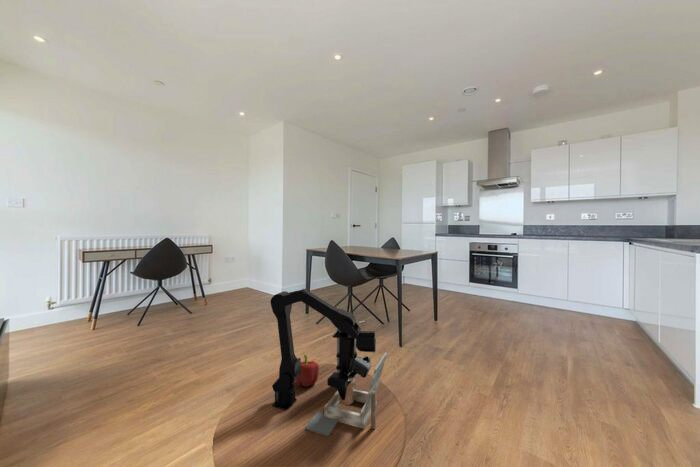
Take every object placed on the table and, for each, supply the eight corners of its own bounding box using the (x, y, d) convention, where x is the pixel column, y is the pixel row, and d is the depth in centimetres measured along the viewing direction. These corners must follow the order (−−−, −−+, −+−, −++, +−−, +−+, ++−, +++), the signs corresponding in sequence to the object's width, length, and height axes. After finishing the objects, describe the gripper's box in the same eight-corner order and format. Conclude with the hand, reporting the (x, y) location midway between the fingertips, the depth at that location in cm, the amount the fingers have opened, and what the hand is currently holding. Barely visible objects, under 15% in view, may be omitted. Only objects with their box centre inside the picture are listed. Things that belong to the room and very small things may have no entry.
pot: (335, 403, 91) (335, 381, 91) (342, 394, 96) (342, 374, 96) (351, 406, 88) (351, 385, 89) (357, 397, 94) (357, 377, 94)
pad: (305, 429, 82) (305, 427, 82) (317, 414, 89) (317, 412, 89) (328, 436, 79) (328, 434, 79) (339, 419, 86) (339, 417, 86)
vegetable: (292, 378, 113) (292, 355, 114) (316, 375, 116) (316, 352, 117) (294, 392, 103) (295, 366, 103) (321, 388, 106) (321, 362, 106)
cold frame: (324, 417, 87) (324, 360, 88) (340, 395, 100) (341, 345, 101) (376, 432, 81) (376, 369, 82) (387, 406, 94) (387, 352, 95)
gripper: (359, 365, 81) (359, 417, 81) (376, 344, 99) (376, 387, 98) (326, 359, 85) (326, 409, 85) (348, 340, 103) (348, 381, 102)
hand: (346, 395), depth 92 cm, fingers closed on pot, 5 cm apart
